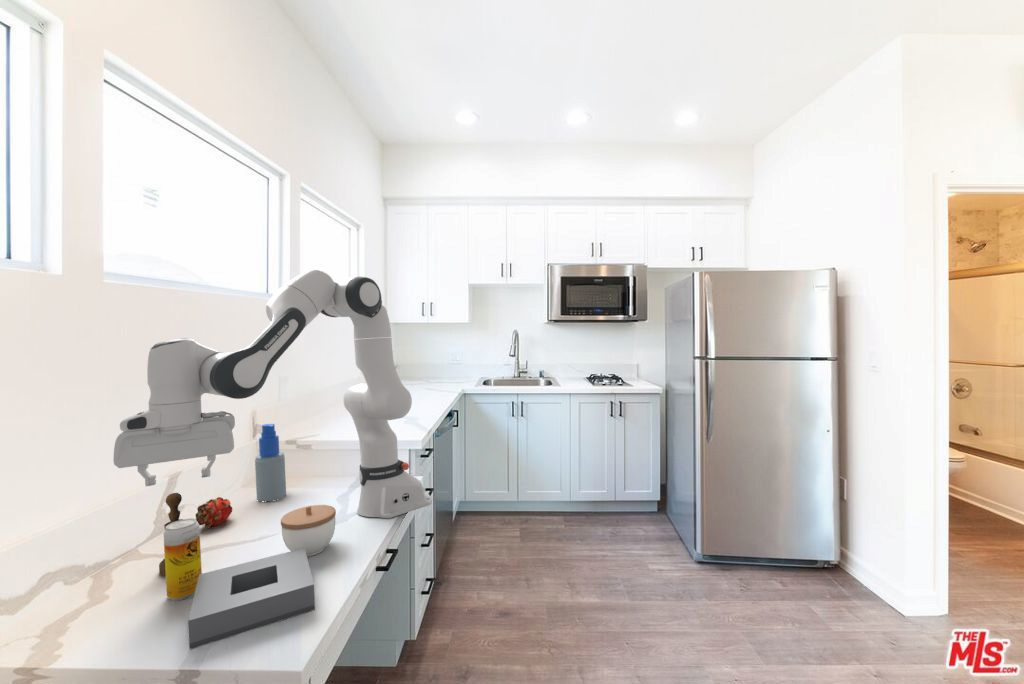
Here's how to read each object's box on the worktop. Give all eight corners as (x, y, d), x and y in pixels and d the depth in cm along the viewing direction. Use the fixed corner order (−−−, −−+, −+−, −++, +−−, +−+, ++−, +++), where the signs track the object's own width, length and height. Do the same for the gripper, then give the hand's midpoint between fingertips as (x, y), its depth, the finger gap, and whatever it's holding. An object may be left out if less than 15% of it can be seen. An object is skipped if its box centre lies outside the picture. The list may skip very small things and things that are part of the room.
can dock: (305, 569, 102) (304, 548, 102) (315, 609, 87) (313, 584, 87) (200, 598, 92) (199, 574, 92) (189, 649, 77) (187, 620, 77)
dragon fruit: (199, 540, 123) (223, 528, 135) (225, 520, 125) (247, 510, 137) (181, 516, 124) (207, 506, 136) (207, 496, 125) (231, 488, 137)
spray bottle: (251, 499, 151) (248, 425, 150) (278, 491, 158) (275, 421, 158) (264, 504, 145) (261, 428, 145) (291, 495, 153) (288, 423, 152)
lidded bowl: (284, 545, 115) (282, 502, 115) (336, 534, 120) (334, 494, 120) (280, 567, 104) (278, 520, 104) (338, 555, 109) (336, 510, 109)
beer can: (183, 603, 91) (179, 530, 90) (159, 601, 92) (155, 529, 92) (209, 586, 97) (206, 518, 96) (186, 584, 98) (182, 517, 98)
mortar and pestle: (156, 579, 100) (152, 500, 100) (162, 567, 106) (159, 492, 106) (191, 571, 104) (188, 494, 103) (196, 559, 109) (193, 486, 109)
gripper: (234, 408, 102) (237, 468, 102) (117, 419, 91) (121, 486, 92) (233, 411, 96) (236, 475, 96) (109, 424, 86) (112, 495, 86)
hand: (179, 480), depth 94 cm, fingers open, 8 cm apart
